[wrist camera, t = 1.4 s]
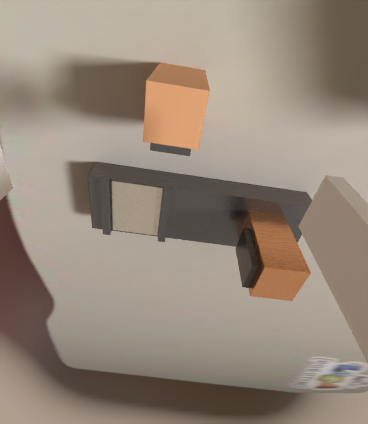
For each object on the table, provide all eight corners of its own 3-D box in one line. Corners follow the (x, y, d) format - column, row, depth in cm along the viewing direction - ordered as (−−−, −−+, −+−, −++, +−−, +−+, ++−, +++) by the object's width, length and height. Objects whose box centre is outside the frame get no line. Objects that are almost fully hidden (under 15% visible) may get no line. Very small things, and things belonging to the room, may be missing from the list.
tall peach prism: (205, 70, 23) (209, 91, 16) (195, 124, 26) (196, 160, 19) (160, 62, 23) (146, 80, 16) (155, 118, 25) (142, 151, 19)
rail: (96, 161, 28) (52, 226, 20) (306, 192, 30) (354, 265, 21) (99, 212, 33) (64, 284, 24) (284, 237, 34) (315, 313, 25)
